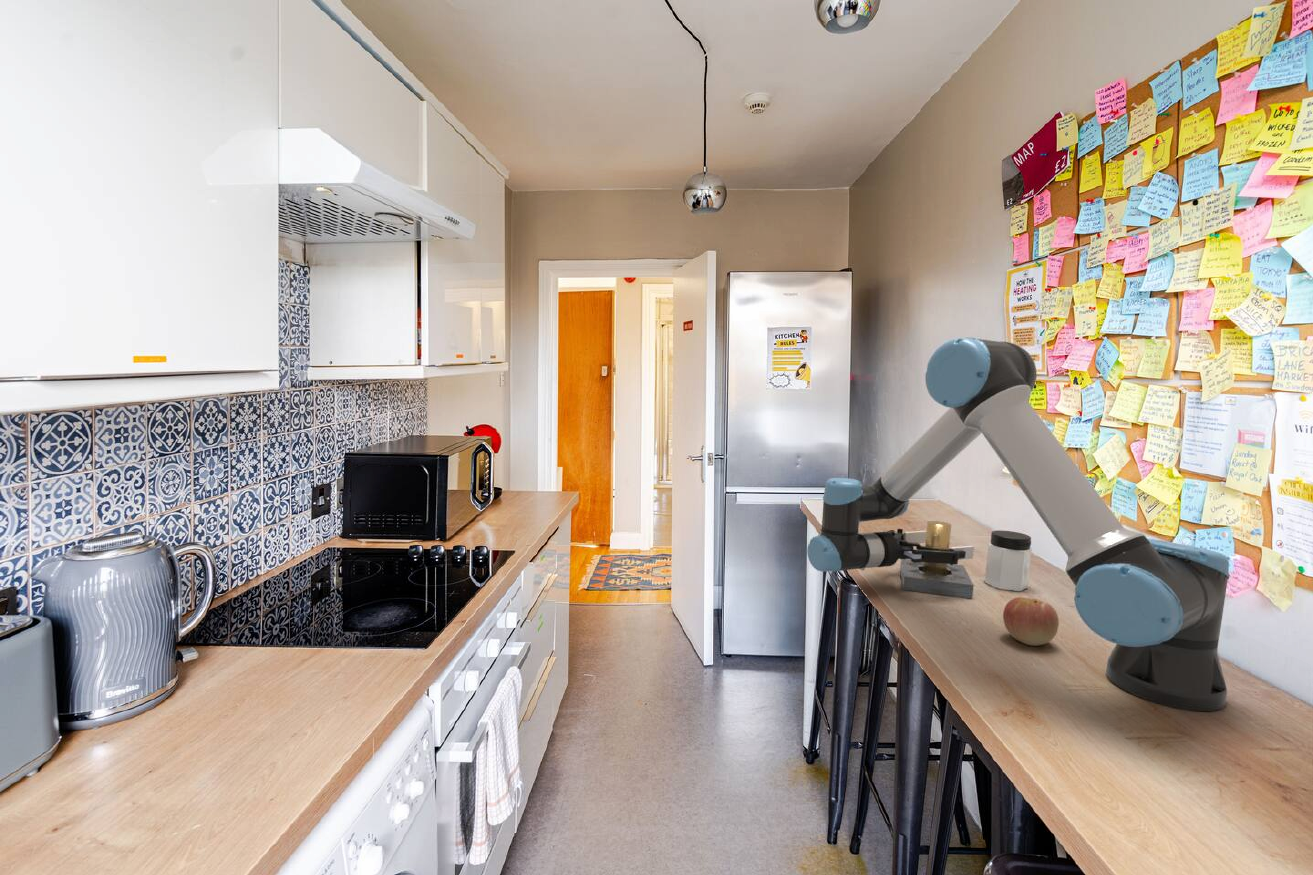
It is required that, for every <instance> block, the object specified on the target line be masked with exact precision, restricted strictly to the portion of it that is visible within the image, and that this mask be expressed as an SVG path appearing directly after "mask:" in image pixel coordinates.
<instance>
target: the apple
mask: <svg viewBox="0 0 1313 875" xmlns="http://www.w3.org/2000/svg"><path fill="white" fill-rule="evenodd" d="M1003 609H1004V610H1003V611H1002V612H1003V614H1002V620H1003V624H1004V626H1005V629H1006V631H1007V632H1008V633H1009V635H1011V637H1013V638H1014V639H1015V640H1016V641H1018V642H1020V643H1022V644H1025V645H1027V646H1033V647H1034V646H1035V647H1036V646H1037V647H1038V646H1042V645H1046V644H1048V643H1049V642H1051V641H1053V639H1054V638H1055V636H1056V635H1057V632H1058V630H1059V624H1060V622H1059V615H1058V613H1057V611H1056V609H1055V607H1053V606H1052V605H1051V604H1050V603H1049V602H1047V601H1044V600H1041V599H1038V598H1030V597H1021V596H1019V597H1015V598H1013V599H1012V598H1011V600H1009V601H1008V602H1007V603H1006V604H1005V607H1004V608H1003Z"/></svg>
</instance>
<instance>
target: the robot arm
mask: <svg viewBox="0 0 1313 875" xmlns="http://www.w3.org/2000/svg"><path fill="white" fill-rule="evenodd" d="M926 365H927V368H926V372H925V375H924V376H925V386H926V390H927V392H928V394H929V396H930V397H931V398H932V399H933V400H934V401H935V402H936V403H937V404H939V405H941V406H943V407H944V408H945V407H946V408H948V409H947V410H946V411H945V412H944V413H943V414H942V415H941V416H940V417H939V418H938V419H937V420H936V421H935V422H934V423H933V424H932V425H930V427H929V428H928V429H926V431H925V432H924V433H923V434H922V435H921V436H920V437H919V438H918V439H917V440H916V441H915V442H914V443H913V444H912V445H911V446H910V447H909V448H908V449H907V450H906V451H905V452H904V453H903V454H902V455H901V456H900V457H899V458H898V459H897V460H896V461H895V462H894V463H893V464H892V465H890V467H888V469H887V470H886V471H885V472H884V473H883V474H882V475H881V476H880V477H879V478H878V479H877V480H876V481H874V483H872V484H871V485H865V486H864V485H863V484H862V482H861V481H860V480H857V479H854V478H848V477H831V478H829V479H827V480H826V482H825V487H824V491H823V493H824V494H823V496H822V500H823V505H822V506H823V507H822V515H821V517H822V518H821V529H820V534H819V535H815V536H813V537H812V538H811V539H810V540H809V543H808V545H807V549H806V550H807V557H808V561H809V563H810V565H811V567H812V568H813V569H815V570H816V571H819V572H840V571H850V570H860V571H865V569H872V568H883V567H884V568H885V567H893V566H894V565H895V564H896V563H897V562H898V561H899V560H901V559H911V562H914V563H915V562H929V563H944V564H950V565H953V564H957V565H959V561H961V560H972V559H974V550H975V546H973V545H965V546H953V547H951V546H949V549H944V548H935V547H927V546H925V545H921V544H926V533H927V530H919V531H918V530H917V531H904V529H902V528H897V531H895V530H893V529H889V530H887V531H876V532H869V531H868V532H860V533H859V528H860V527H859V525H860V523H862V522H863V523H864V522H870V521H878V520H879V521H880V520H890V519H893V518H896V517H900V516H902V515H904V514H905V513H906V512H907V510H908V507H909V504H910V499H911V498H913V497H914V496H915V495H916V494H917V493H918V492H919V491H920V490H921V489H922V488H924V486H926V485H927V484H928V483H929V482H930V481H931V480H932V479H933V478H934V477H935V476H937V475H938V474H939V473H940V472H941V471H942V470H943V469H944V468H945V467H946V466H947V465H949V464H950V463H951V462H952V461H953V460H954V459H955V458H956V457H957V456H958V455H959V454H961V452H963V451H964V450H965V449H966V448H967V447H969V445H970V444H972V442H973V441H975V440H976V439H977V438H978V437H979V436H980V435H981V434H982V435H983V436H984V438H985V439H986V441H987V443H988V444H989V446H990V447H991V448H992V449H993V451H994V452H995V454H996V455H997V457H998V458H999V459H1000V461H1001V462H1002V464H1003V465H1004V467H1005V468H1006V469H1007V471H1008V473H1009V474H1010V476H1012V478H1013V479H1014V481H1015V482H1016V484H1017V485H1018V487H1019V488H1020V490H1021V491H1022V492H1023V494H1024V496H1026V498H1027V500H1028V502H1030V504H1031V506H1032V507H1033V508H1034V510H1035V511H1036V512H1037V515H1039V517H1040V518H1041V519H1042V521H1043V522H1044V524H1045V526H1046V527H1047V528H1048V529H1049V531H1050V533H1051V534H1052V535H1053V537H1054V538H1055V540H1056V541H1057V542H1058V544H1059V545H1060V547H1061V548H1062V549H1063V551H1064V552H1065V554H1066V555H1067V562H1066V566H1065V572H1066V574H1067V576H1068V577H1069V578H1070V580H1071V581H1072V583H1073V585H1074V586H1075V589H1074V597H1073V599H1074V605H1075V608H1076V611H1077V613H1078V615H1079V617H1080V618H1081V620H1082V621H1083V622H1084V624H1085V625H1086V626H1087V627H1088V628H1089V630H1091V631H1092V632H1093V633H1095V634H1096V635H1097V636H1099V637H1100V638H1102V639H1104V640H1106V641H1107V642H1111V643H1113V644H1116V645H1115V646H1114V648H1113V650H1112V651H1111V654H1110V655H1109V656H1108V659H1107V662H1106V670H1105V675H1106V677H1107V679H1109V681H1110V682H1112V684H1114V685H1116V686H1117V687H1118V688H1120V689H1122V690H1123V691H1126V692H1127V693H1130V694H1132V695H1134V696H1137V697H1138V698H1139V697H1140V698H1142V699H1145V700H1147V701H1151V702H1153V703H1157V704H1160V705H1164V706H1168V707H1171V708H1172V707H1173V708H1177V709H1181V710H1189V711H1196V712H1198V711H1199V712H1212V711H1214V712H1215V711H1218V710H1221V709H1223V708H1224V707H1225V706H1226V701H1227V694H1228V690H1227V684H1226V681H1225V677H1224V673H1223V669H1222V665H1221V662H1220V658H1219V654H1218V653H1219V652H1218V650H1219V641H1220V640H1219V639H1220V636H1221V628H1222V620H1223V614H1224V608H1225V600H1226V594H1227V586H1228V580H1229V579H1230V573H1229V571H1230V570H1229V568H1230V561H1229V558H1228V557H1227V556H1226V555H1225V554H1222V553H1221V552H1217V551H1214V550H1210V549H1207V548H1203V547H1202V548H1201V547H1197V546H1192V545H1188V544H1182V543H1177V542H1172V541H1165V540H1161V539H1160V540H1159V539H1153V538H1152V539H1151V538H1147V536H1146V535H1145V534H1144V533H1142V532H1137V531H1134V530H1130V529H1128V528H1127V529H1126V527H1124V525H1123V524H1122V523H1121V521H1119V519H1118V518H1117V516H1116V515H1115V513H1113V511H1112V510H1111V508H1110V507H1109V506H1108V505H1107V503H1106V502H1105V500H1104V499H1103V498H1102V497H1101V495H1100V494H1099V492H1098V491H1097V490H1096V489H1095V487H1094V486H1093V485H1092V484H1091V482H1090V481H1089V480H1088V479H1087V477H1086V476H1085V474H1084V473H1083V472H1082V470H1081V469H1080V467H1078V465H1077V464H1076V462H1075V461H1074V460H1073V459H1072V457H1071V455H1070V454H1069V453H1068V452H1067V451H1066V449H1065V448H1064V447H1063V445H1062V444H1061V443H1060V441H1059V440H1058V439H1057V437H1056V436H1055V434H1054V433H1053V432H1052V431H1051V429H1050V428H1049V427H1048V426H1047V425H1046V423H1045V421H1044V420H1043V419H1042V418H1041V417H1040V415H1039V414H1038V412H1037V411H1036V410H1035V409H1034V407H1033V406H1032V404H1031V403H1030V396H1031V393H1032V392H1033V390H1034V388H1035V385H1036V383H1037V382H1036V381H1037V375H1038V373H1037V367H1036V363H1035V361H1034V359H1033V357H1032V356H1031V355H1030V353H1029V352H1028V351H1027V350H1026V349H1025V348H1023V347H1022V346H1020V345H1018V344H1016V343H1012V342H1008V341H996V340H988V339H981V338H976V337H972V336H971V337H963V338H961V337H960V338H955V339H950V340H948V341H946V342H944V343H943V344H941V345H940V346H939V347H938V348H937V349H936V350H935V351H934V352H933V353H932V355H931V357H930V358H929V360H928V362H927V364H926ZM903 531H904V532H903Z"/></svg>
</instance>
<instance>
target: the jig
mask: <svg viewBox="0 0 1313 875" xmlns="http://www.w3.org/2000/svg"><path fill="white" fill-rule="evenodd" d="M923 566H924V562H915V563H914V562H911V559H900V565H899V571H900V572H899V573H900V580H901V584H902V590H903V591H904V590H905V591H911V592H917V593H926V594H934V595H940V594H942V595H943V596H948V595H950V596H949V597H956V598H962V599H970V600H972V599H973V595H974V586H975V585H974V583H973V581H972V578H970V575H969V573H968V572H967V569H966V567H965V566H964V564H953V565H950V564H948V565H947V575H946V576H941V575H933V574H928V573H925V572H923ZM942 595H941V596H942Z"/></svg>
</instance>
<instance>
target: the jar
mask: <svg viewBox="0 0 1313 875" xmlns="http://www.w3.org/2000/svg"><path fill="white" fill-rule="evenodd" d="M990 534H991V535H990V542H989V543H988V545H987V546H988V547H987V556H986V557H987V558H986V566H985V575H984V576H985V577H984V583H985V584H987V585H989V586H992V587H994V588H996V589H998V590H1003V591H1010V590H1014V591H1013V592H1019V591H1020V592H1023V591H1024V590H1025V589H1027V588H1028V586H1029V585H1028V584H1029V576H1030V569H1031V568H1030V567H1031V560H1032V559H1031V558H1032V548H1031V545H1032V537H1031V536H1030V535H1028V534H1025V533H1021V532H1018V531H1010V530H999V529H998V530H993V531H991V533H990Z"/></svg>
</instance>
